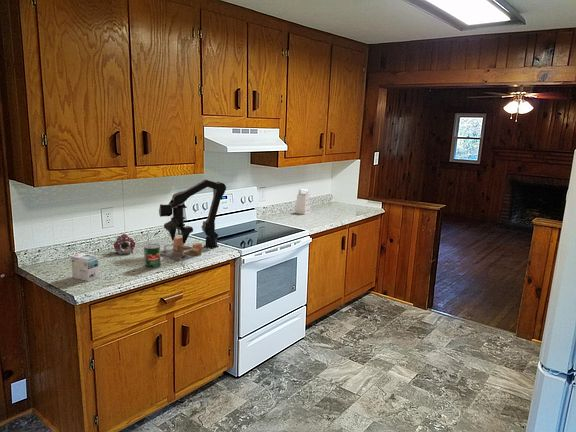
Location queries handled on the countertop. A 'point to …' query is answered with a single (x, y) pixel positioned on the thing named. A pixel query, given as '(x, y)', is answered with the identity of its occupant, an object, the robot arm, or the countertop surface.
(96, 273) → the light bulb box
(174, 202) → the robot arm
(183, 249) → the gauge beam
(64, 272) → the countertop surface
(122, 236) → the maroon piece
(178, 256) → the flange plate
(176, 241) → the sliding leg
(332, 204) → the countertop surface
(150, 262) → the canned tomato
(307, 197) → the grater
